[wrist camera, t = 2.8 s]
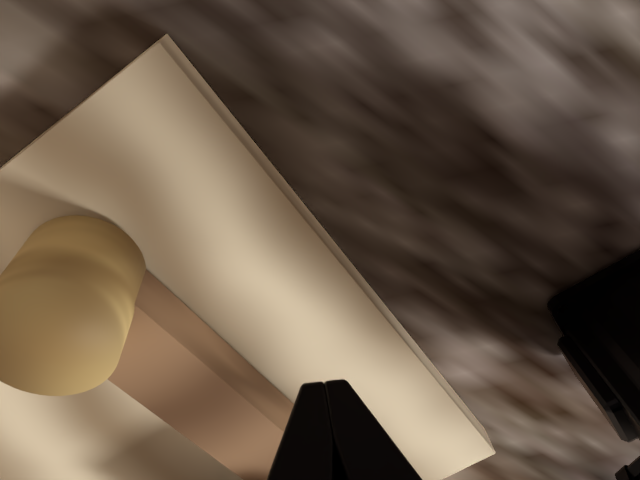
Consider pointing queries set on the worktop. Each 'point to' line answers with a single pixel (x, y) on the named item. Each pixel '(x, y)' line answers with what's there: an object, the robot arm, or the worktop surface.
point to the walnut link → (130, 343)
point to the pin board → (209, 282)
